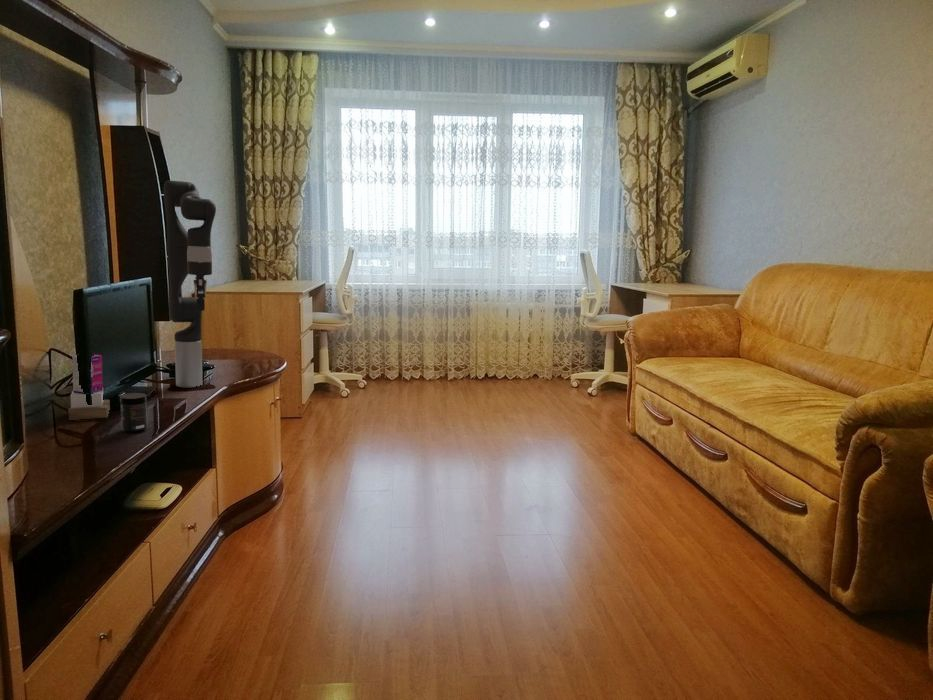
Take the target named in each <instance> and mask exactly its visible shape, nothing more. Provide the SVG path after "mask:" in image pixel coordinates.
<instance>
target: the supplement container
mask: <svg viewBox="0 0 933 700" xmlns="http://www.w3.org/2000/svg"><path fill="white" fill-rule="evenodd" d="M119 403H120V421H121V431H122V432H123V433H124V434H130V433H132V434H139V433H143V432H146V430H147V429H148V411H147V409H148V408H147V406H148V404H147V394H146V393H141V392H131V393H124V394H121V395H120V396H119Z"/></svg>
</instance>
